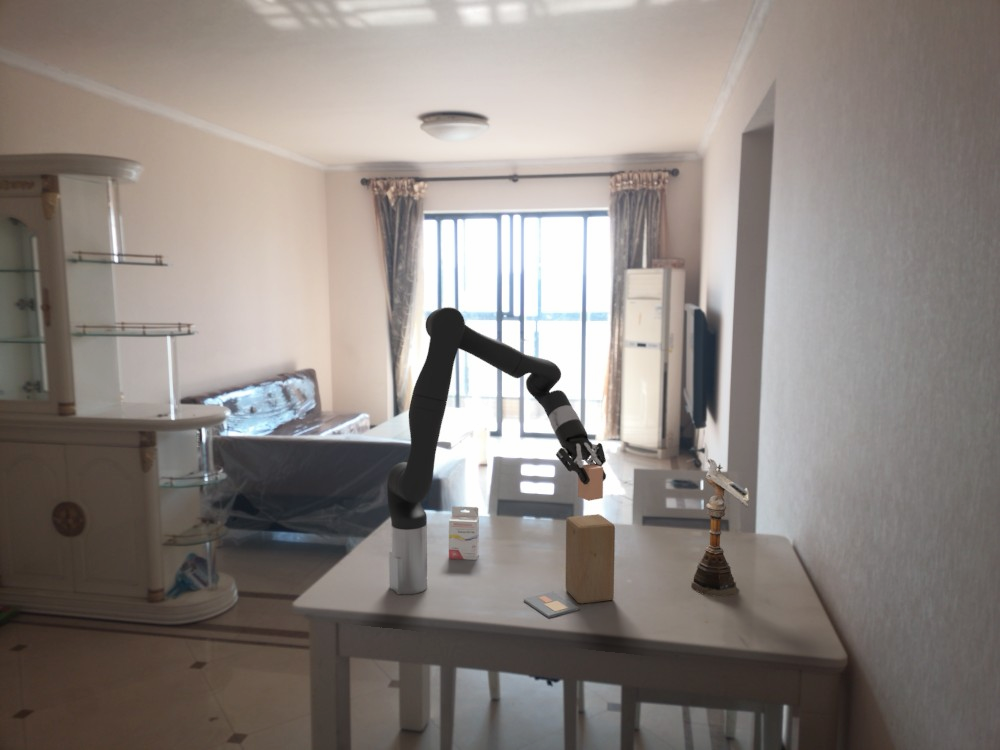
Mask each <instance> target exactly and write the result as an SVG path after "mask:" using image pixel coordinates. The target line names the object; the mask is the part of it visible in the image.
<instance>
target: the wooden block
mask: <svg viewBox="0 0 1000 750" xmlns="http://www.w3.org/2000/svg"><path fill="white" fill-rule="evenodd" d="M615 532H616V528H615V524H614V523H612V522H611V521H610V520H609V519H607V518H605V516H602V515H601V514H586V515H575V516H568V517H566V521H565V590H566V591H567V592H568V593H569V595H570V596H571V597H572V598H573V599H574V600H575V602H577V603H578V604H589V603H596V602H597V603H598V602H606V601H612V600H614V596H615V595H614V594H615V592H614V591H615V588H614V587H615V552H616V551H615V548H616V547H615V546H616V545H615V543H616V541H615V539H616V538H615V537H616V533H615Z"/></svg>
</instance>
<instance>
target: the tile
mask: <svg viewBox="0 0 1000 750" xmlns="http://www.w3.org/2000/svg"><path fill="white" fill-rule="evenodd" d="M523 602H525V603H526V604H528V605H529V606H530V607H531V608H533V609H535V611H537V612H539V613H540V614H542V615H544V616H545V617H546V618H548V619H550V618H553V617H556V616H557V617H558V616H560V615H564V614H568V613H571V612H574V611H578V610H580V609H579V606H577V605H575V604H574V603H573V602H571V601H569V600H567V599H566V598H564V597H563V596H561V595H560V594H558V593H557V592H555V591H549V592H546V593H542V594H538V595H534V596H530V597H526V598H523Z"/></svg>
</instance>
